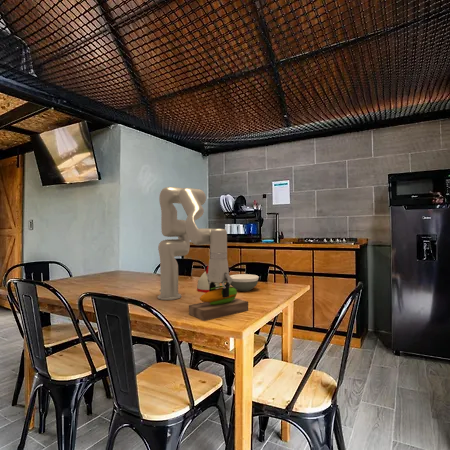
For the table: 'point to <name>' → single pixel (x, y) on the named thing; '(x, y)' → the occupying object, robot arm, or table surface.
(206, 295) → the corn
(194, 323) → the table surface
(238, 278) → the bowl
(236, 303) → the board
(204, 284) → the kitchen timer
